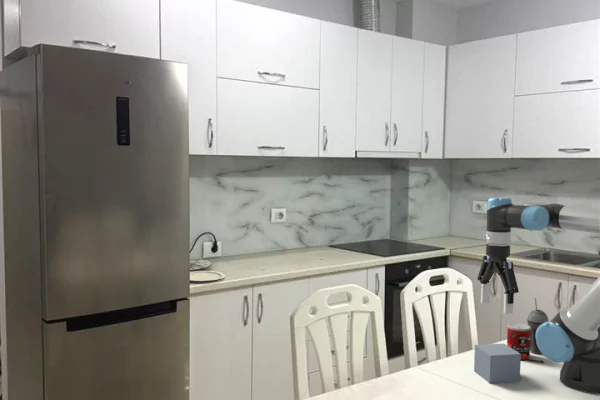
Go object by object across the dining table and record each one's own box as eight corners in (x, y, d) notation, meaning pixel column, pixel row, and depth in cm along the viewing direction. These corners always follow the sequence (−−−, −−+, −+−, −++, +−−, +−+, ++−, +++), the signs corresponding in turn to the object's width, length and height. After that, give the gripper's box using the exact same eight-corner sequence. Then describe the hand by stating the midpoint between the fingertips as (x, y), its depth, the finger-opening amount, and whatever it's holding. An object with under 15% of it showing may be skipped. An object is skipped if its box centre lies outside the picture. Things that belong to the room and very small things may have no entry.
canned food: (511, 360, 190) (512, 329, 189) (503, 352, 198) (504, 322, 197) (533, 360, 189) (534, 329, 189) (524, 352, 197) (525, 322, 197)
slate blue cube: (502, 369, 181) (503, 343, 180) (519, 381, 171) (520, 354, 170) (474, 371, 179) (474, 344, 179) (489, 383, 169) (490, 355, 169)
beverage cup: (550, 356, 193) (552, 301, 192) (528, 354, 195) (530, 299, 193) (545, 349, 200) (547, 296, 199) (524, 348, 202) (525, 295, 201)
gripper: (468, 239, 190) (466, 299, 192) (510, 250, 166) (508, 318, 167) (487, 238, 192) (486, 298, 193) (532, 249, 168) (529, 317, 169)
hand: (496, 307), depth 180 cm, fingers open, 13 cm apart
